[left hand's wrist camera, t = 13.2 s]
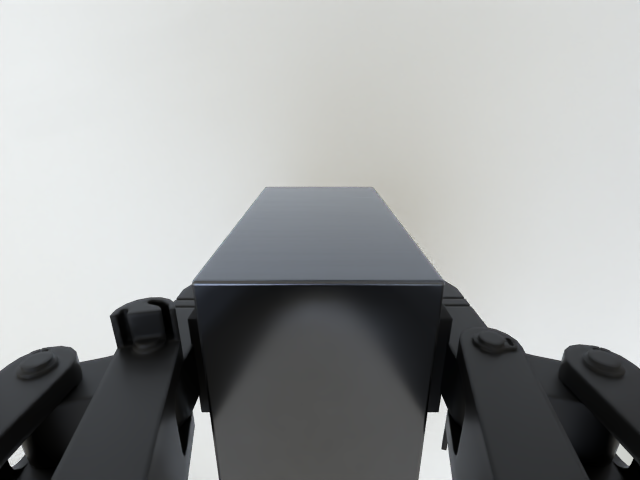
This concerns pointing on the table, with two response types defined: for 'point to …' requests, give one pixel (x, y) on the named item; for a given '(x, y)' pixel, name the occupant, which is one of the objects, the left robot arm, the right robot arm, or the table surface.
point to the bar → (318, 339)
